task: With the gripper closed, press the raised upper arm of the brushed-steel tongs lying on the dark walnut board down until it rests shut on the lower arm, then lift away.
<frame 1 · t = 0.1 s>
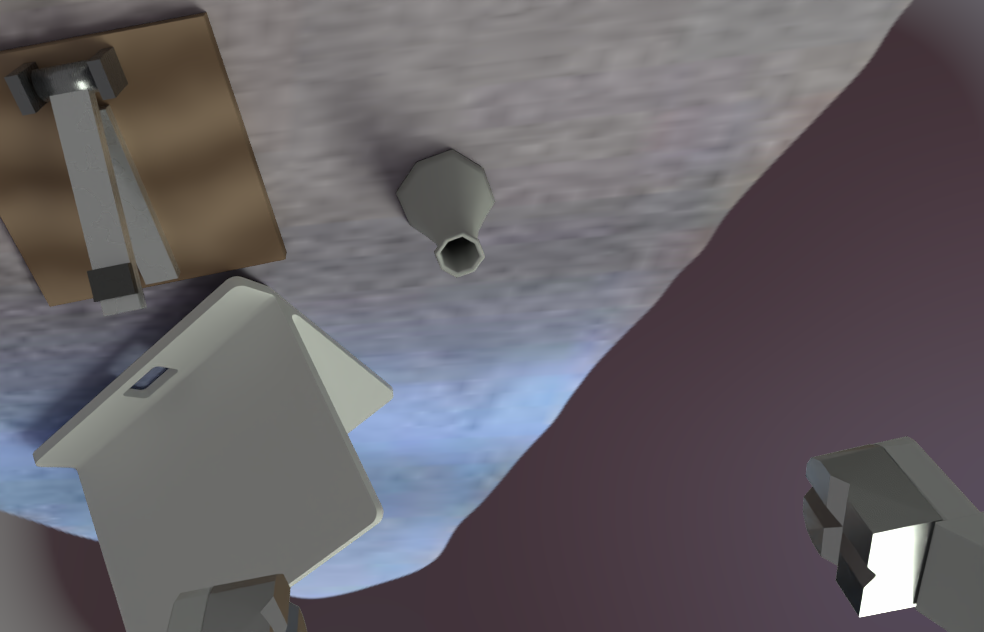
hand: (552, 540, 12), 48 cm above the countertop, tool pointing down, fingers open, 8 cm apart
flask: (445, 194, 61), on the countertop
tablet stand: (221, 412, 69), on the countertop
upper tong arm: (95, 189, 50), point 6 cm above the countertop, hinge at 28.0°
walnut board: (124, 167, 56), on the countertop
lower tong arm: (81, 68, 52), resting on walnut board
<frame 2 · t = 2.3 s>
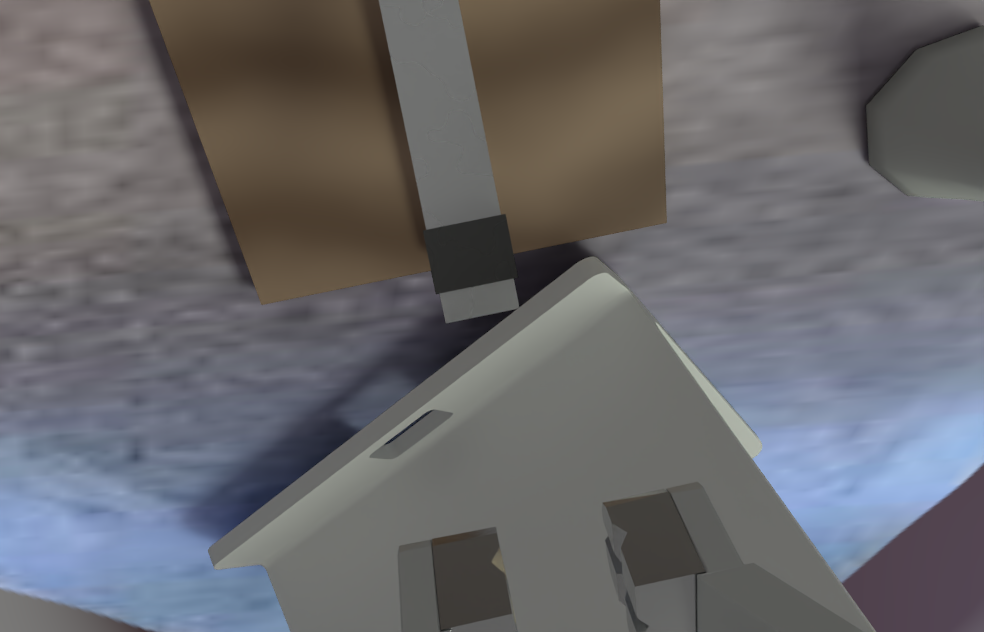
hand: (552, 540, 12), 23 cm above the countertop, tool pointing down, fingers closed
flask: (936, 111, 35), on the countertop
tablet stand: (492, 476, 43), on the countertop
upper tong arm: (431, 67, 25), point 6 cm above the countertop, hinge at 28.0°
walnut board: (423, 47, 30), on the countertop
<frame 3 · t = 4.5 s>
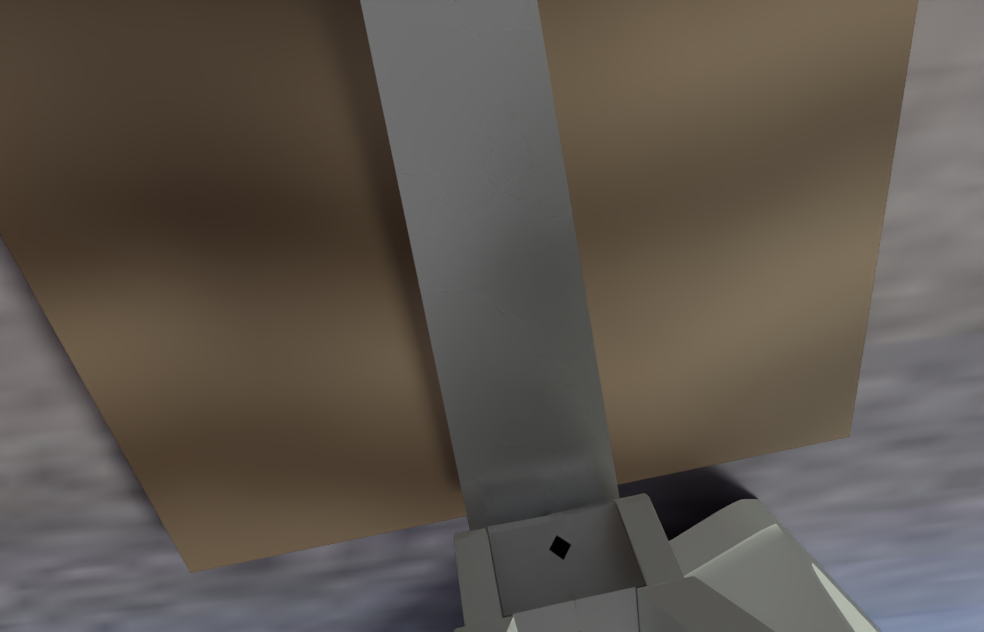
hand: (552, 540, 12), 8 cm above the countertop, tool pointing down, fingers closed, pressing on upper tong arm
upper tong arm: (501, 287, 12), point 6 cm above the countertop, hinge at 22.9°, touching gripper
walnut board: (466, 178, 17), on the countertop
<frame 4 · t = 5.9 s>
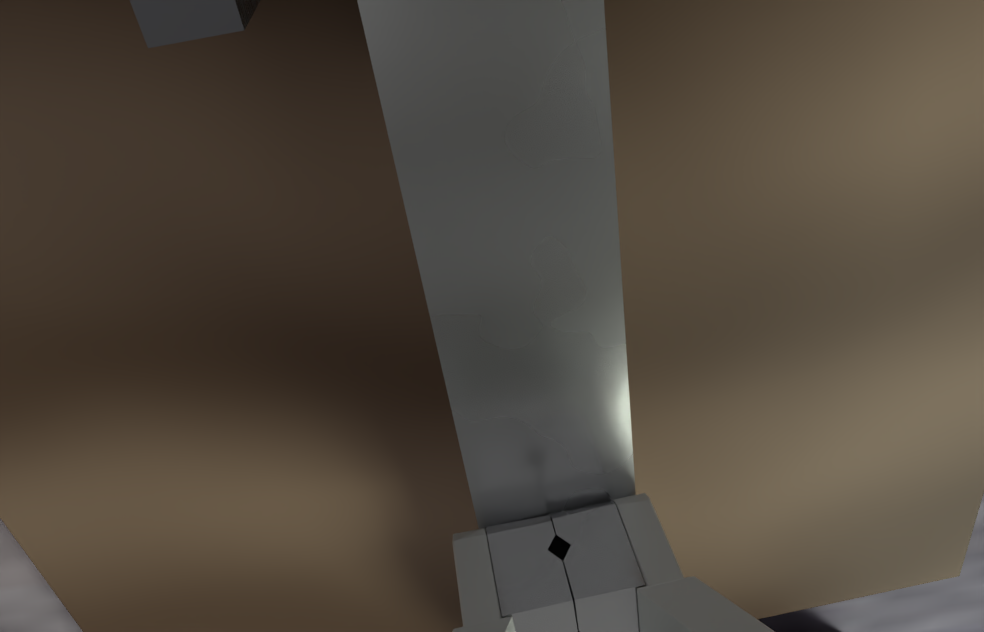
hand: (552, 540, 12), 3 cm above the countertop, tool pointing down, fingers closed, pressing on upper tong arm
upper tong arm: (537, 396, 11), point 3 cm above the countertop, hinge at 0.3°, touching gripper
walnut board: (507, 293, 13), on the countertop
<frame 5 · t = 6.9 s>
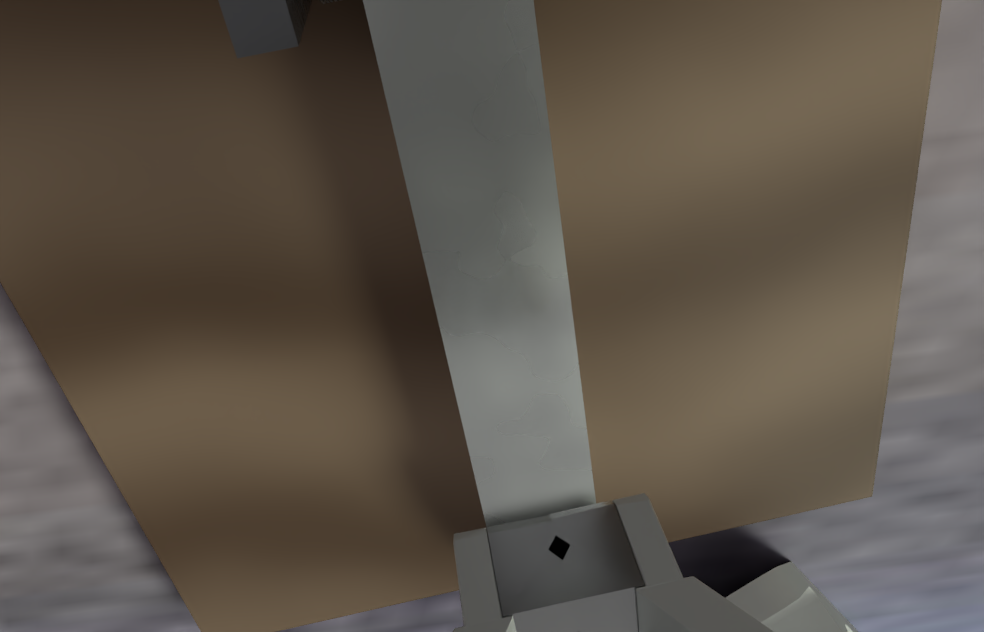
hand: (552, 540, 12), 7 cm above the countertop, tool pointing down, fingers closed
upper tong arm: (505, 320, 15), point 3 cm above the countertop, hinge at 0.2°
walnut board: (484, 253, 17), on the countertop
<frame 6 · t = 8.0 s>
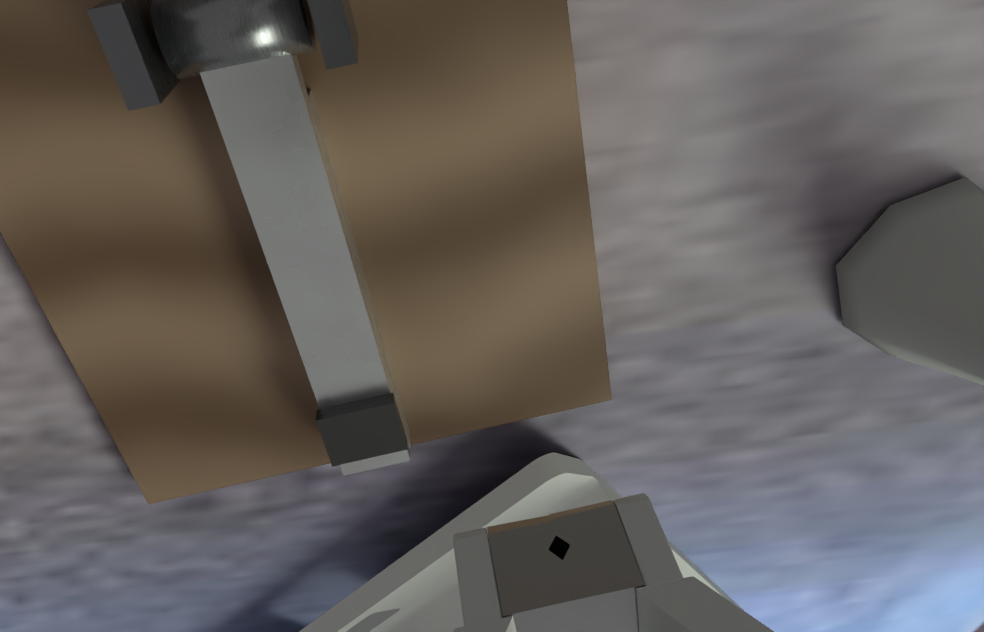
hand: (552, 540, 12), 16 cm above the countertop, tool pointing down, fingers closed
flask: (917, 265, 31), on the countertop
upper tong arm: (313, 263, 24), point 3 cm above the countertop, hinge at 0.2°
walnut board: (317, 226, 26), on the countertop
lower tong arm: (250, 8, 23), resting on walnut board
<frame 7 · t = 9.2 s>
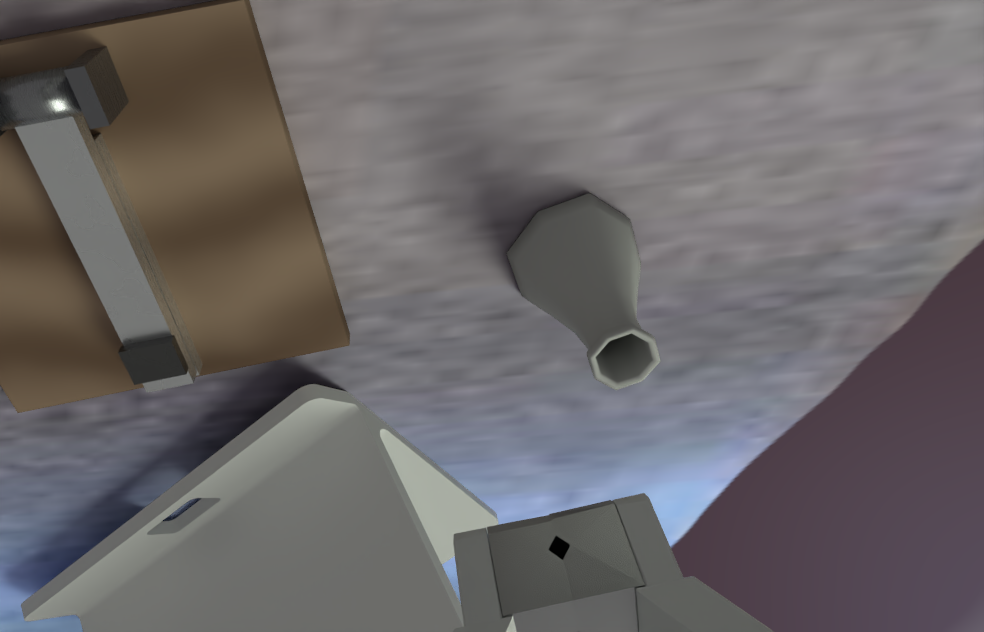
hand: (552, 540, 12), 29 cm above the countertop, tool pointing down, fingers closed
flask: (572, 254, 43), on the countertop
tablet stand: (271, 543, 52), on the countertop
upper tong arm: (108, 247, 36), point 3 cm above the countertop, hinge at 0.2°
walnut board: (123, 220, 39), on the countertop
lower tong arm: (59, 79, 35), resting on walnut board
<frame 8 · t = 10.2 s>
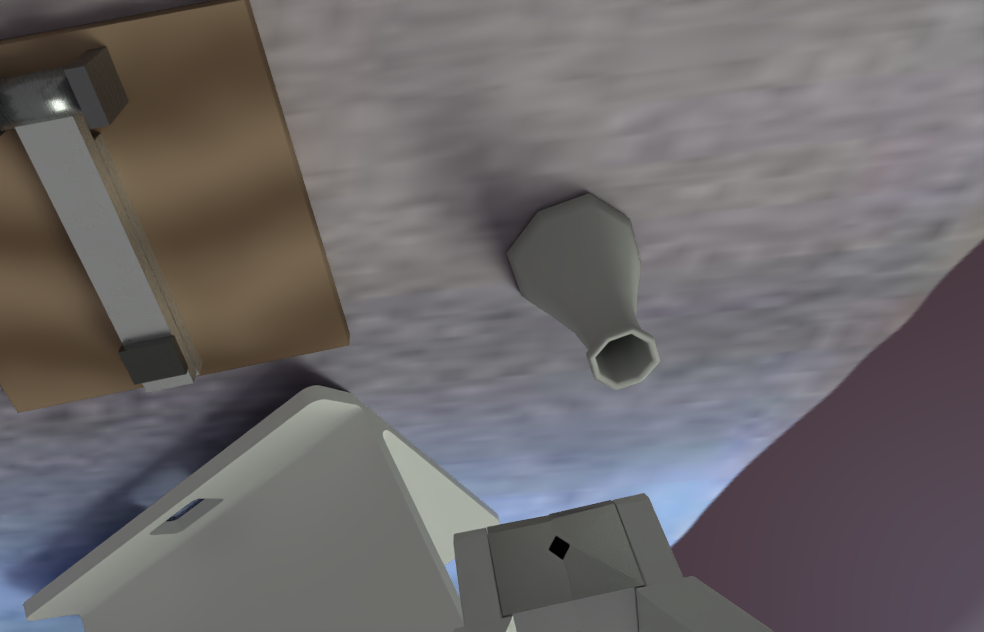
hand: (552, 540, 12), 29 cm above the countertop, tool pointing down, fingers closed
flask: (572, 253, 43), on the countertop
tablet stand: (273, 544, 52), on the countertop
upper tong arm: (107, 246, 36), point 3 cm above the countertop, hinge at 0.2°
walnut board: (123, 220, 39), on the countertop
lower tong arm: (59, 79, 35), resting on walnut board
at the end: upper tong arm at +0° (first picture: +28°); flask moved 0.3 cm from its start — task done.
